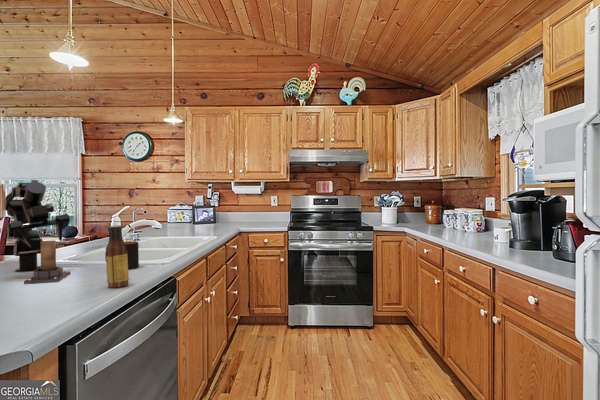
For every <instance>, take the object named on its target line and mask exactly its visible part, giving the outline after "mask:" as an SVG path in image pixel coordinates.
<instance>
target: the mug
mask: <svg viewBox="0 0 600 400" xmlns="http://www.w3.org/2000/svg"><path fill="white" fill-rule="evenodd" d="M123 242H124V245H125V246H126V249H127V258H128V271H129V270H136V269H138V268H139V267H140V266H139V265H140V264H139V263H140V262H139V255H140V254H139V241H134V240H133V241H123ZM104 255H105V256H104V257H105V260H106V252H105V254H104Z"/></svg>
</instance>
